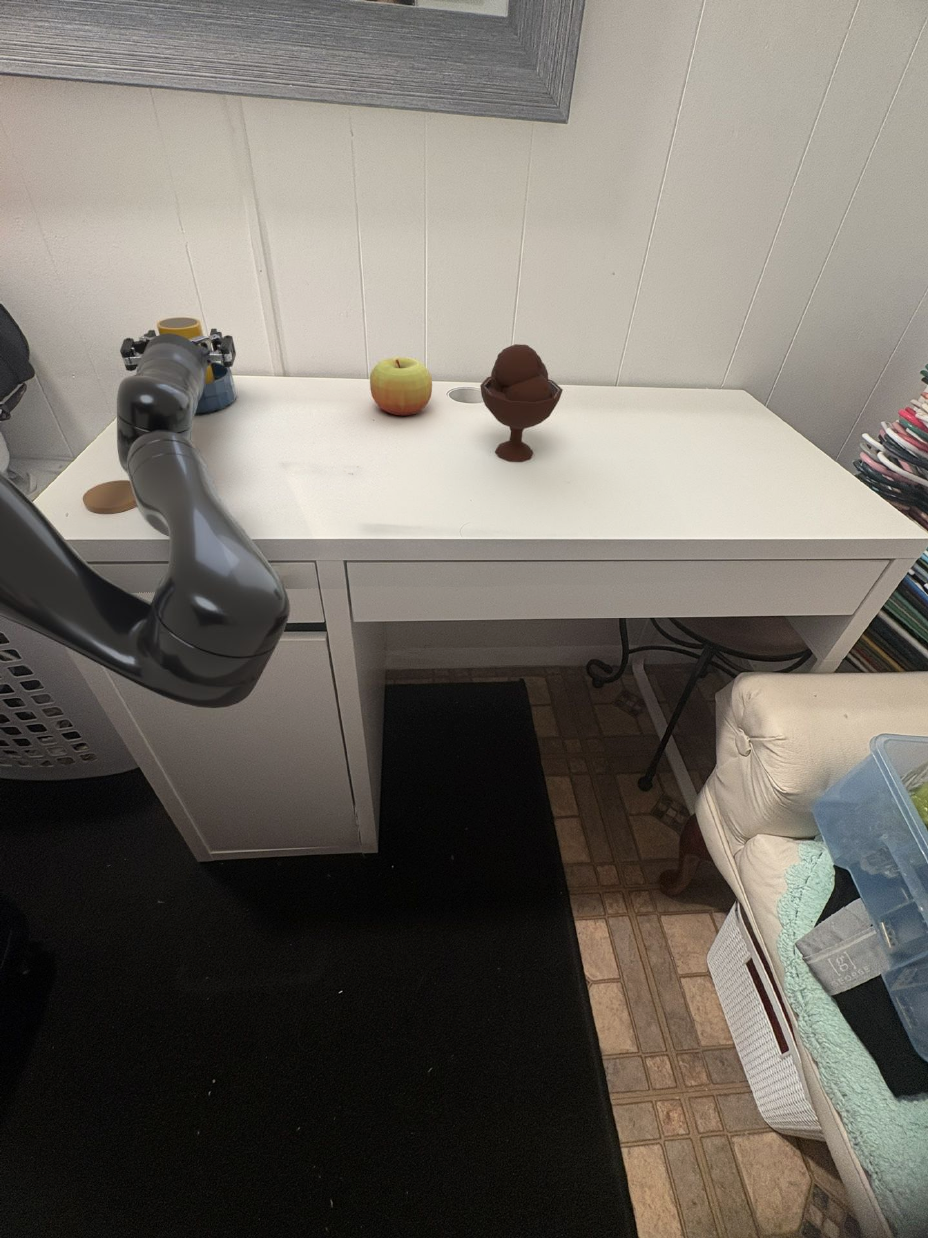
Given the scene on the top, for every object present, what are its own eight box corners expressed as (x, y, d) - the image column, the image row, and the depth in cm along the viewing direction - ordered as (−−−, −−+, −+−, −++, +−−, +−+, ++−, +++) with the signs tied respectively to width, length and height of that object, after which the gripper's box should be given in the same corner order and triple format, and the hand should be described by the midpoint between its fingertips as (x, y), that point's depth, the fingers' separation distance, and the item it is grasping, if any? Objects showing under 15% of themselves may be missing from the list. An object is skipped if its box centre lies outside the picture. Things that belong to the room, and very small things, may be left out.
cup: (180, 407, 88) (157, 329, 80) (176, 393, 91) (154, 318, 84) (221, 402, 90) (202, 326, 82) (215, 388, 94) (198, 315, 86)
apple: (366, 419, 89) (362, 366, 83) (376, 396, 96) (373, 346, 90) (429, 423, 89) (429, 370, 83) (434, 399, 96) (434, 349, 90)
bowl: (163, 420, 85) (154, 389, 82) (158, 392, 93) (149, 364, 90) (242, 410, 89) (235, 381, 86) (231, 384, 97) (225, 357, 94)
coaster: (84, 518, 65) (81, 512, 65) (85, 491, 69) (82, 485, 69) (147, 507, 67) (145, 501, 67) (144, 482, 72) (142, 476, 71)
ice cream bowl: (555, 472, 79) (575, 359, 69) (475, 468, 78) (483, 354, 68) (549, 439, 86) (565, 333, 76) (476, 435, 86) (482, 328, 76)
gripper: (224, 341, 72) (229, 307, 83) (100, 345, 69) (123, 309, 80) (237, 400, 77) (241, 360, 88) (122, 406, 74) (141, 364, 85)
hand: (185, 336), depth 84 cm, fingers open, 8 cm apart
